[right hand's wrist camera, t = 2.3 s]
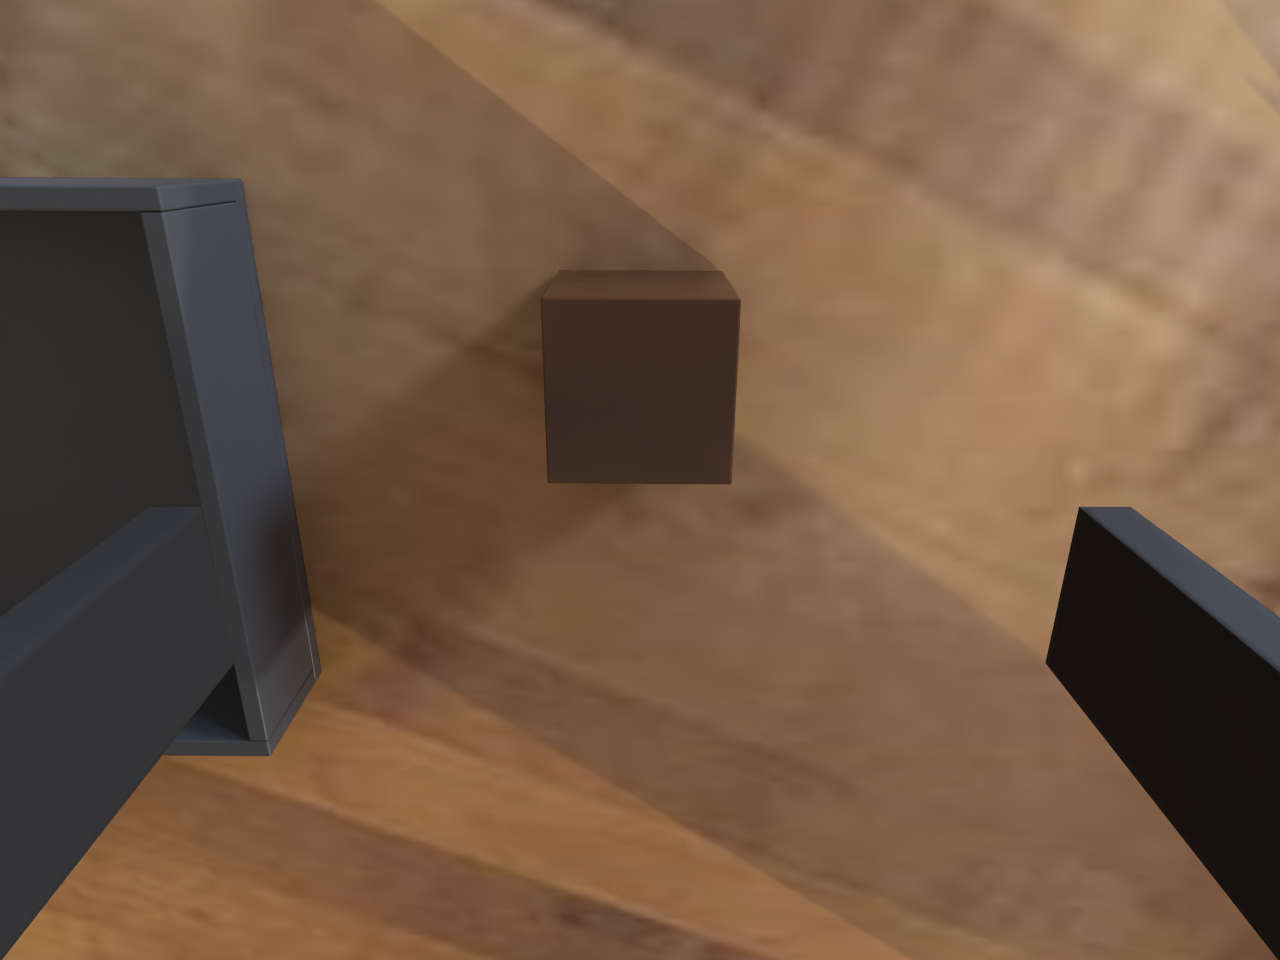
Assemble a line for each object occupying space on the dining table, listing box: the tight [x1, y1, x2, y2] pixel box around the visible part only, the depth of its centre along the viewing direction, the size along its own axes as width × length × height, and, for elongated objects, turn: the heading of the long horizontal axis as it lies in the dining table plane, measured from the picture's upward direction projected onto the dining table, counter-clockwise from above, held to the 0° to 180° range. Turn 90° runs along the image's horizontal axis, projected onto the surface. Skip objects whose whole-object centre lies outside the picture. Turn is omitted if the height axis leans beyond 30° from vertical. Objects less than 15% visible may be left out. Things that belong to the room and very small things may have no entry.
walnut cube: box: [541, 270, 741, 484], centre depth 24 cm, size 5×5×5 cm
